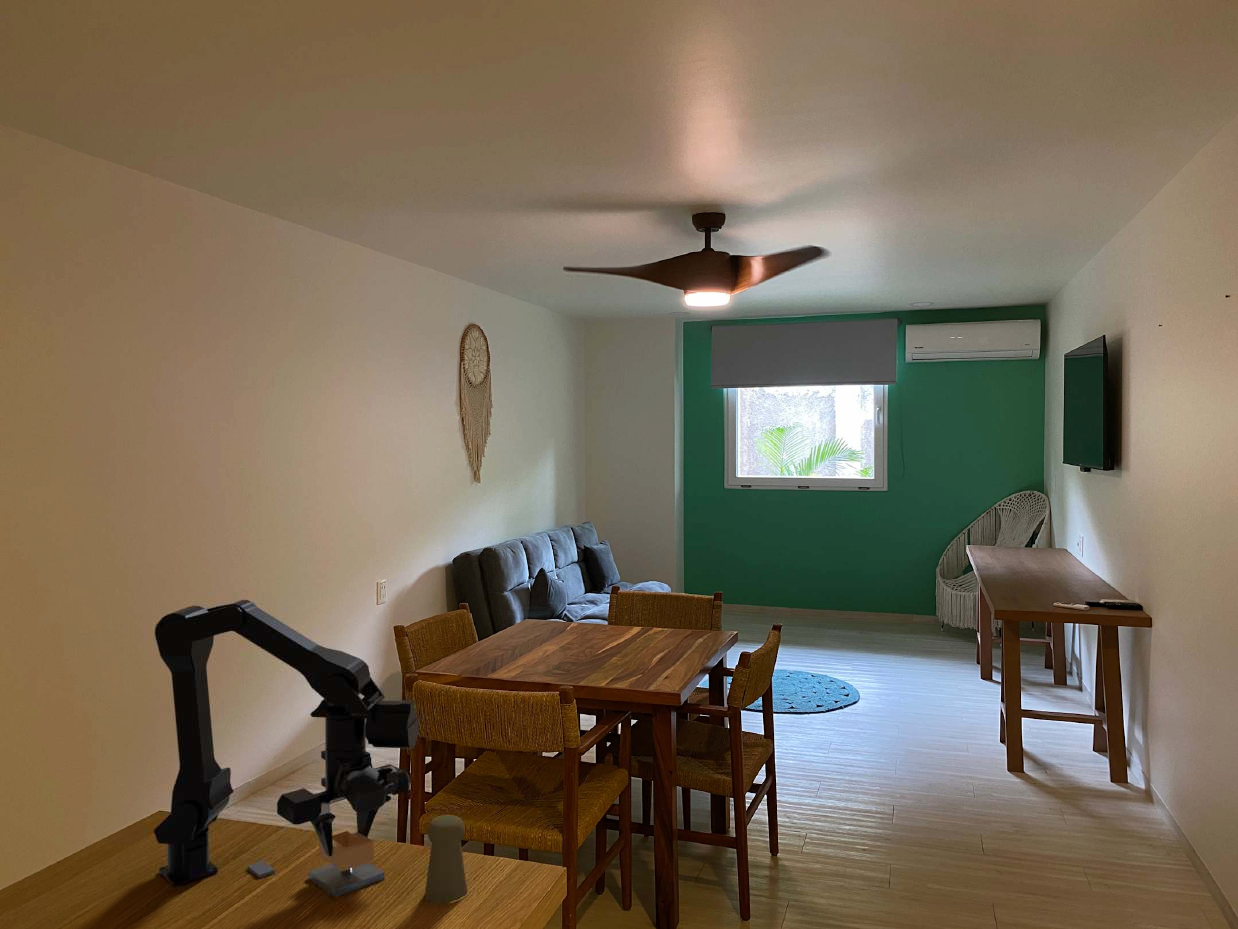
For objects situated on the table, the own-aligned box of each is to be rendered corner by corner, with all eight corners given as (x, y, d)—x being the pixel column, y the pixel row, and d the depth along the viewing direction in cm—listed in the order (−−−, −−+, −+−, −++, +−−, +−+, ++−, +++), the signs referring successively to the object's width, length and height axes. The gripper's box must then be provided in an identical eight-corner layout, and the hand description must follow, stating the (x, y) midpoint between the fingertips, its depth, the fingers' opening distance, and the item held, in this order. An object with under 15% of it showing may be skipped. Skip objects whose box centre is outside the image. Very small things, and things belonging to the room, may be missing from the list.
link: (318, 855, 139) (318, 837, 139) (349, 845, 143) (349, 827, 143) (342, 871, 134) (342, 852, 134) (373, 860, 138) (373, 841, 138)
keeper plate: (308, 878, 139) (308, 851, 139) (357, 860, 144) (357, 835, 144) (334, 897, 133) (334, 870, 133) (384, 878, 139) (384, 852, 139)
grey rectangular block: (247, 869, 141) (247, 866, 141) (263, 864, 143) (263, 860, 143) (259, 878, 139) (259, 875, 139) (274, 873, 140) (274, 869, 140)
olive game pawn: (458, 906, 131) (458, 829, 130) (417, 902, 132) (417, 825, 132) (473, 886, 137) (473, 811, 136) (434, 881, 138) (434, 808, 138)
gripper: (312, 776, 126) (312, 890, 126) (430, 744, 139) (430, 847, 139) (275, 755, 133) (275, 863, 134) (390, 726, 147) (390, 825, 147)
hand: (345, 849), depth 139 cm, fingers closed on link, 5 cm apart
